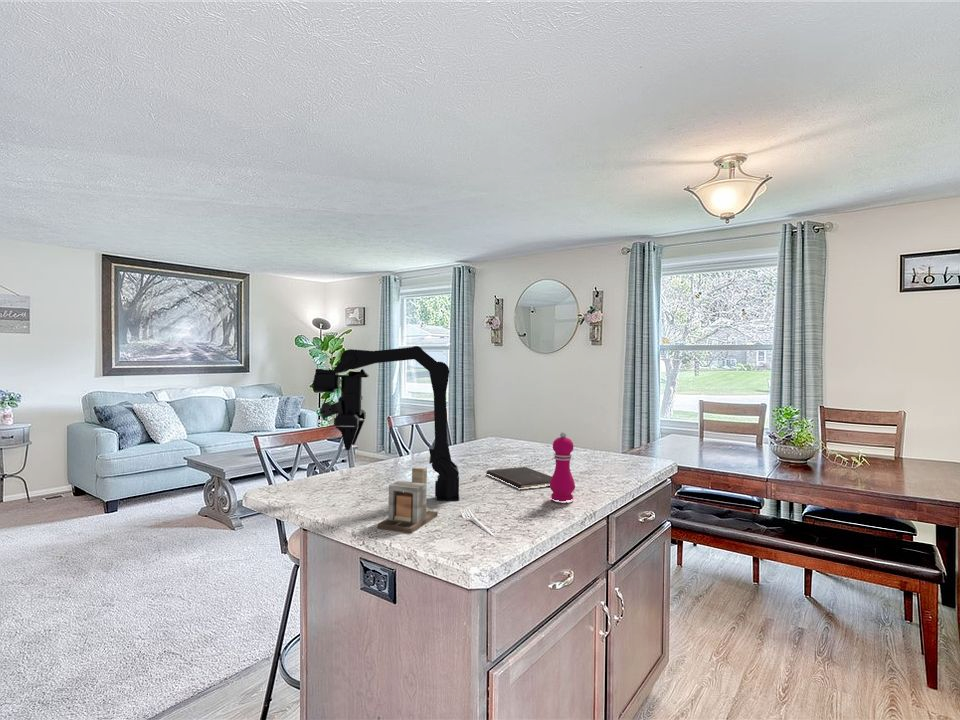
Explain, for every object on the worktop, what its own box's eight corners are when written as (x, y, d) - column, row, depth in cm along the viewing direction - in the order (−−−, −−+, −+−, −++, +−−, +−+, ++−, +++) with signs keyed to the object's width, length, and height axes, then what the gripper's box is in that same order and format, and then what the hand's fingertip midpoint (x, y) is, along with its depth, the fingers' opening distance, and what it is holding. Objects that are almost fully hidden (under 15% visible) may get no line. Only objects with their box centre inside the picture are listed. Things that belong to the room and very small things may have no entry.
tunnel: (406, 511, 135) (407, 476, 135) (437, 515, 132) (438, 479, 132) (377, 528, 122) (378, 488, 122) (411, 533, 119) (412, 492, 119)
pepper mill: (577, 499, 151) (578, 431, 151) (571, 505, 144) (572, 434, 144) (553, 496, 154) (554, 429, 154) (546, 502, 147) (547, 432, 147)
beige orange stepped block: (413, 508, 134) (414, 466, 134) (428, 510, 133) (429, 467, 133) (394, 519, 125) (395, 473, 125) (410, 521, 123) (411, 475, 123)
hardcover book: (525, 473, 188) (525, 466, 188) (562, 487, 167) (562, 480, 167) (486, 476, 181) (486, 470, 181) (520, 492, 160) (520, 484, 160)
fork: (490, 542, 116) (490, 534, 116) (458, 515, 134) (458, 508, 134) (502, 540, 117) (503, 532, 117) (469, 514, 135) (469, 507, 135)
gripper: (329, 390, 156) (328, 442, 156) (315, 394, 137) (313, 453, 137) (366, 391, 157) (365, 442, 157) (357, 395, 138) (356, 453, 138)
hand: (350, 447), depth 147 cm, fingers open, 9 cm apart
